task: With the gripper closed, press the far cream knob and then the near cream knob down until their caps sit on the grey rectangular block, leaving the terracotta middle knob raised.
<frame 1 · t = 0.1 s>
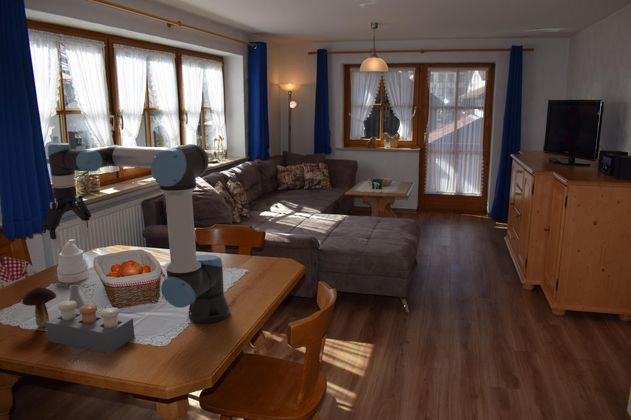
hand: (71, 242, 195), 28 cm above the table, tool pointing down, fingers open, 13 cm apart
middle knob: (89, 318, 177), point 8 cm above the table, slide at 0.0 cm
flask: (77, 310, 202), on the table
decorative mushroom: (43, 327, 189), on the table
near knob: (110, 321, 174), point 8 cm above the table, slide at 0.0 cm
grey rectangular block: (91, 339, 179), on the table
honey pot: (73, 277, 237), on the table
far knob: (68, 314, 180), point 8 cm above the table, slide at 0.0 cm
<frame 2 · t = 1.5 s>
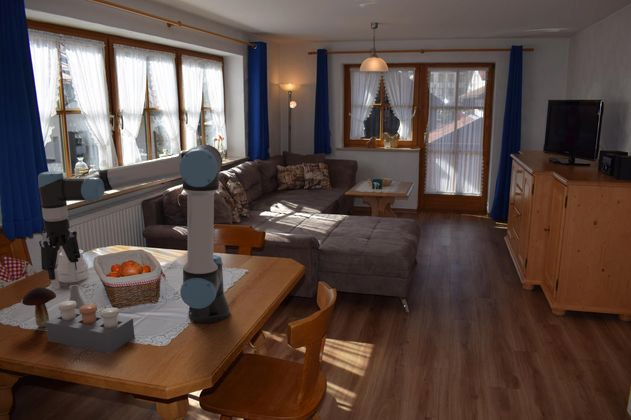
hand: (64, 283, 177), 19 cm above the table, tool pointing down, fingers open, 7 cm apart
nothing on the table moved.
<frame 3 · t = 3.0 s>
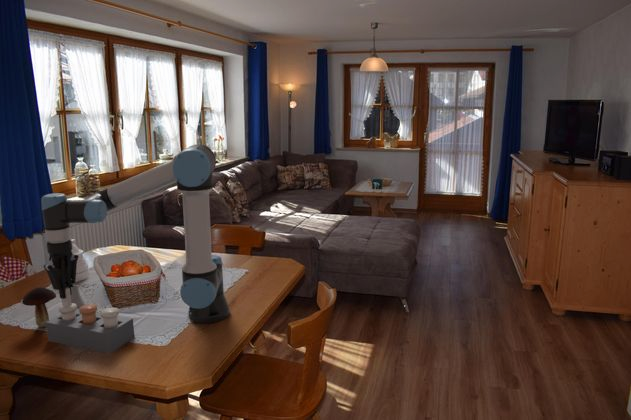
hand: (67, 305, 179), 11 cm above the table, tool pointing down, fingers closed
far knob: (69, 316, 180), point 7 cm above the table, slide at 0.9 cm, touching gripper
everything else where it was.
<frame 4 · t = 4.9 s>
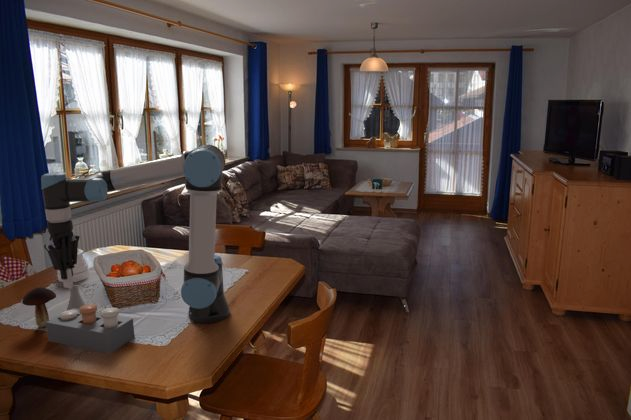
hand: (68, 286, 177), 18 cm above the table, tool pointing down, fingers closed
far knob: (69, 323, 181), point 4 cm above the table, slide at 3.4 cm
everything else where it was.
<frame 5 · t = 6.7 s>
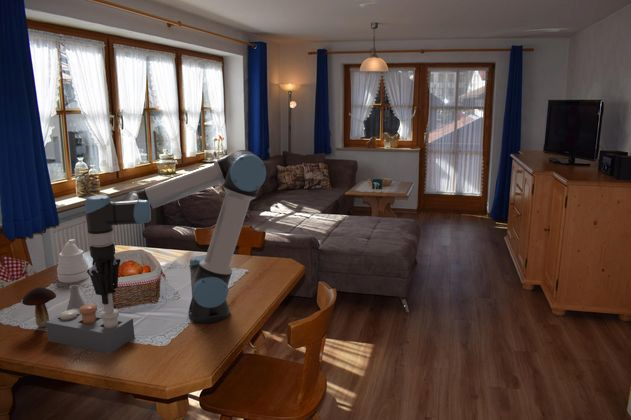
hand: (109, 311, 173), 11 cm above the table, tool pointing down, fingers closed
near knob: (110, 323, 174), point 7 cm above the table, slide at 0.5 cm, touching gripper
everything else where it was.
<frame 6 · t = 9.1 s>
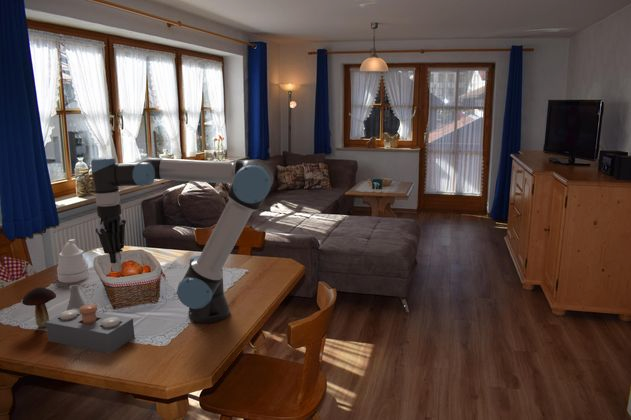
hand: (117, 270, 179), 23 cm above the table, tool pointing down, fingers closed
near knob: (111, 331, 175), point 4 cm above the table, slide at 3.5 cm
everything else where it was.
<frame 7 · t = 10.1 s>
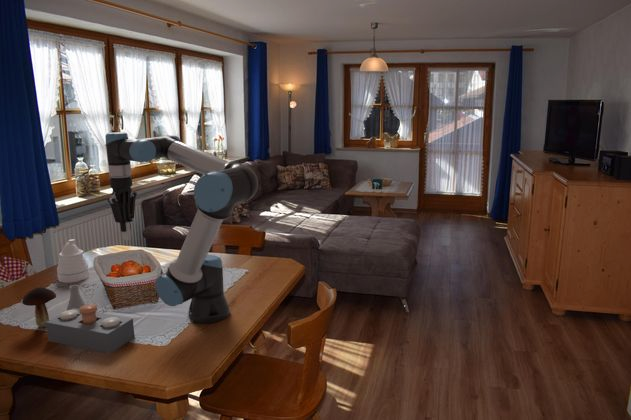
hand: (126, 239, 192), 29 cm above the table, tool pointing down, fingers closed
nothing on the table moved.
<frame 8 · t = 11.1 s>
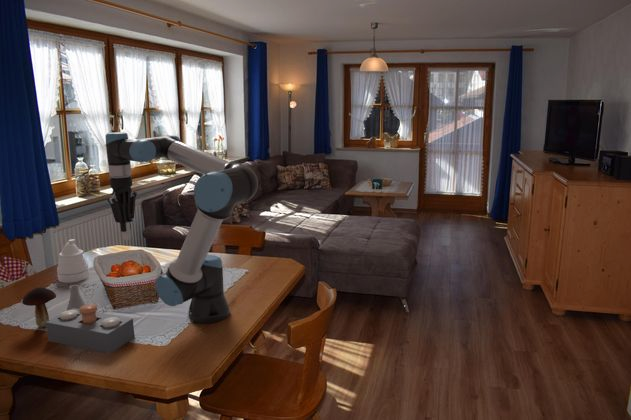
hand: (126, 239, 192), 29 cm above the table, tool pointing down, fingers closed
nothing on the table moved.
at the end: far knob slide at 3.4 cm; near knob slide at 3.5 cm; middle knob slide at 0.0 cm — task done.
